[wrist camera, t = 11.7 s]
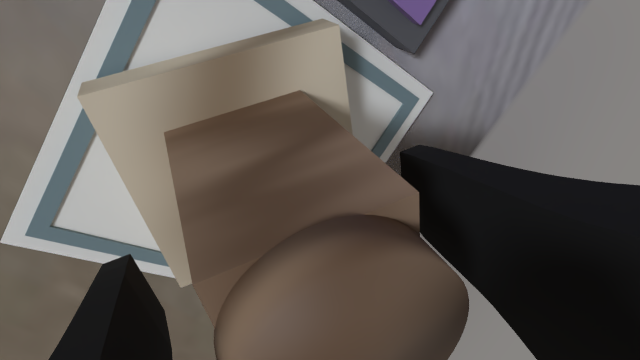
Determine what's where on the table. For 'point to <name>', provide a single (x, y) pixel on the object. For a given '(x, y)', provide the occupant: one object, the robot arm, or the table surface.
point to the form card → (155, 46)
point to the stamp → (278, 202)
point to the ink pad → (398, 19)
